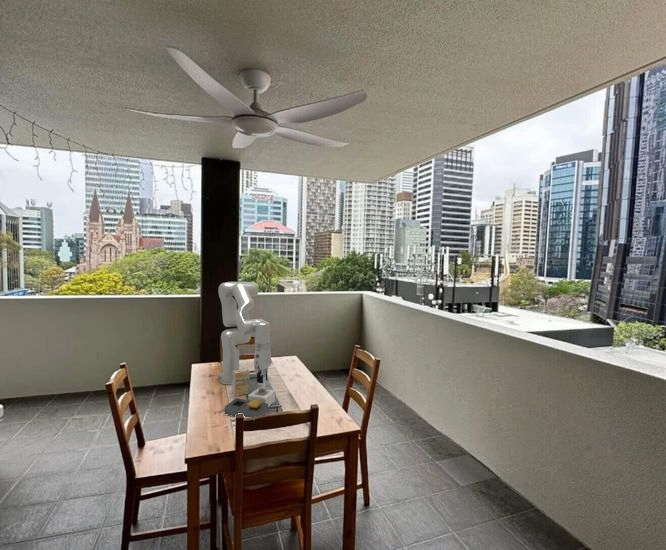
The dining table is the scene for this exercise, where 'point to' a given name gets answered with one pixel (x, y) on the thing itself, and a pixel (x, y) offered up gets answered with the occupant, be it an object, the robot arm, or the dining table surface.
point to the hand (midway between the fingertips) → (262, 381)
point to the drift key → (254, 403)
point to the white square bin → (263, 396)
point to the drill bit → (263, 385)
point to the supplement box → (241, 382)
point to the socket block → (244, 408)
